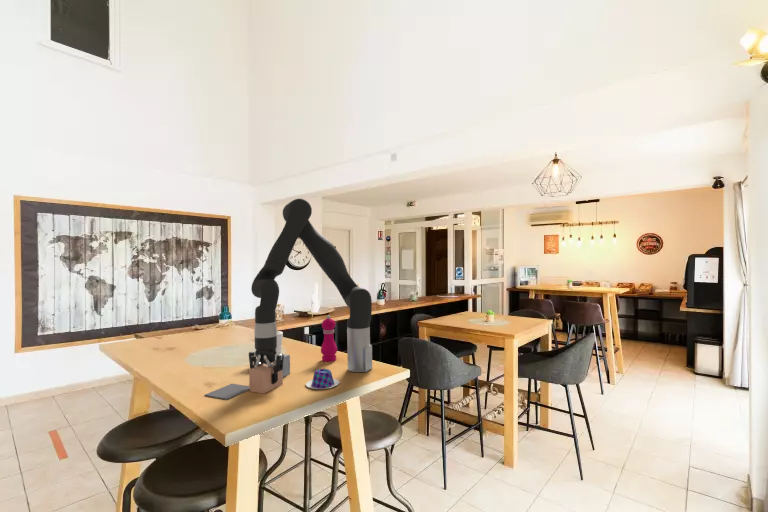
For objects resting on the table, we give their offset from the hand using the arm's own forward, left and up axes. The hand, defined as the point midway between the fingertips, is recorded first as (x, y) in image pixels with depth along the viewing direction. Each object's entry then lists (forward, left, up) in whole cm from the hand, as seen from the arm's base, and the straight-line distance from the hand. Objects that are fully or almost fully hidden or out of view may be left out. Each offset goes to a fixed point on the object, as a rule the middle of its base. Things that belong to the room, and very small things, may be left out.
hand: (266, 382), depth 134 cm
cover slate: (+5, -11, -2) cm, 12 cm away
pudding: (-17, -10, -3) cm, 20 cm away
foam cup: (+19, -26, -2) cm, 32 cm away
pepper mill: (-2, -39, -2) cm, 39 cm away
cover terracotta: (0, 0, -2) cm, 2 cm away
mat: (+9, +8, -2) cm, 12 cm away
